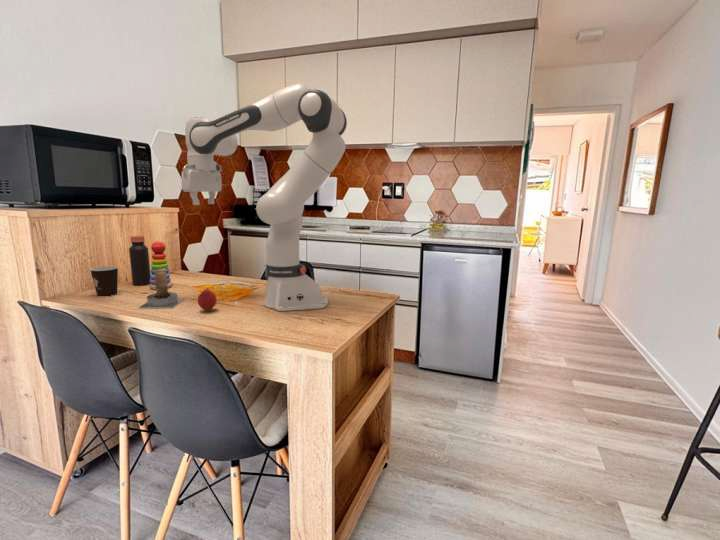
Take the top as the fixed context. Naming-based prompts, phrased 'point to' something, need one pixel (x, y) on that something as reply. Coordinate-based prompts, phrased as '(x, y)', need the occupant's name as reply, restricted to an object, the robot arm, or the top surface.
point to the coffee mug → (105, 280)
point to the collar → (162, 301)
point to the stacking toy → (159, 262)
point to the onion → (207, 299)
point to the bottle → (139, 261)
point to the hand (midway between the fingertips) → (204, 204)
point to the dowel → (161, 282)
